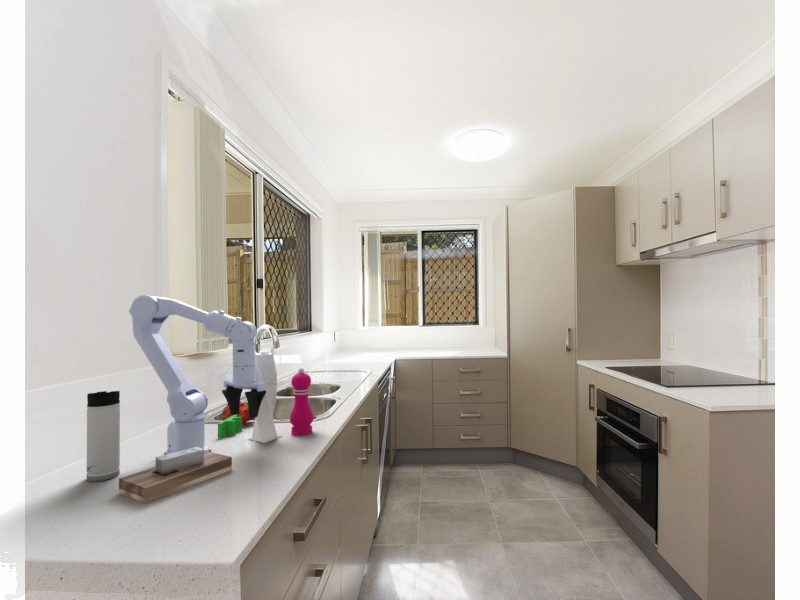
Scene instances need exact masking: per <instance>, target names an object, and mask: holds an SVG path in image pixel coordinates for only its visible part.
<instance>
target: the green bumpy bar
mask: <svg viewBox="0 0 800 600" xmlns="http://www.w3.org/2000/svg"><path fill="white" fill-rule="evenodd" d="M242 431H243V425H242V417H238V415H233V416H231V417H229V418H227V419H226V420H224V421H223V420H222V421H220V422H218V423H217V439H222V438H224V437H226V436H235V435H236V433H237V432H242Z"/></svg>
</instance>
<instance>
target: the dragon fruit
mask: <svg viewBox="0 0 800 600" xmlns="http://www.w3.org/2000/svg"><path fill="white" fill-rule="evenodd" d="M221 415H222V421H224V420H226V419H227V418H229V417H231V416H233V415H231V413H230V409H229V406H228V403H227V404H226V406H225V407H224V408H223V410H222V411H221ZM235 415H238V417H242V426H248V425H250V424H252V423H251V422H249V421H253V420H254V421H255V417H254V418H250V416H249V407H248V402H247V403H246V402H245V401H243V402H242V401H241V400H240V409H239V413H238V414H235Z"/></svg>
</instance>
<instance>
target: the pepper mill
mask: <svg viewBox="0 0 800 600" xmlns="http://www.w3.org/2000/svg"><path fill="white" fill-rule="evenodd" d="M297 371H298V373H296V374H294V375H293V376H292V377H291V382H290V383H291V386H292V388H293V392H292V393H293V395H294V404H293V407H292V410H291V412H290V414H289V415H290V416H289V422H290V424H291V435H292V436H307V435H309V434H312V433H313V426H312V425H311V424H312V423H313V421H314V412H313V410H312V408H311V406H310V403H309V394H310V386H311V384H312V378H311V376H310V375H309V374H308V373H305V370H304V368H303V367H300V368H298V370H297Z"/></svg>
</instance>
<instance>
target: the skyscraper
mask: <svg viewBox="0 0 800 600" xmlns="http://www.w3.org/2000/svg"><path fill="white" fill-rule="evenodd" d="M274 355H275V346H273V345H271V347H270V350H259V351H258V352H257V351H256V350H255V380H257V381H258V382H262V383H265V390H266V394H265V396H264V398H263V400H262V402H261V405H260V408H259V412H258V416H257V417H255V420H254V424H253V430H252V435H251V438H248V439H247V441H251V442H255V441H256V442H255V443H260V442H261V444H266V443H268V441H269V442H271V440H272V441H274V439H275V440H278V439H281V438H283V436H281V435H278V433H277V429H276V425H275V421H274V417H273V415H274V410H275V407H276V400H277V394H278V374H277V367H276V362H275V357H274ZM280 437H281V438H280ZM265 442H266V443H265Z"/></svg>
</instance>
